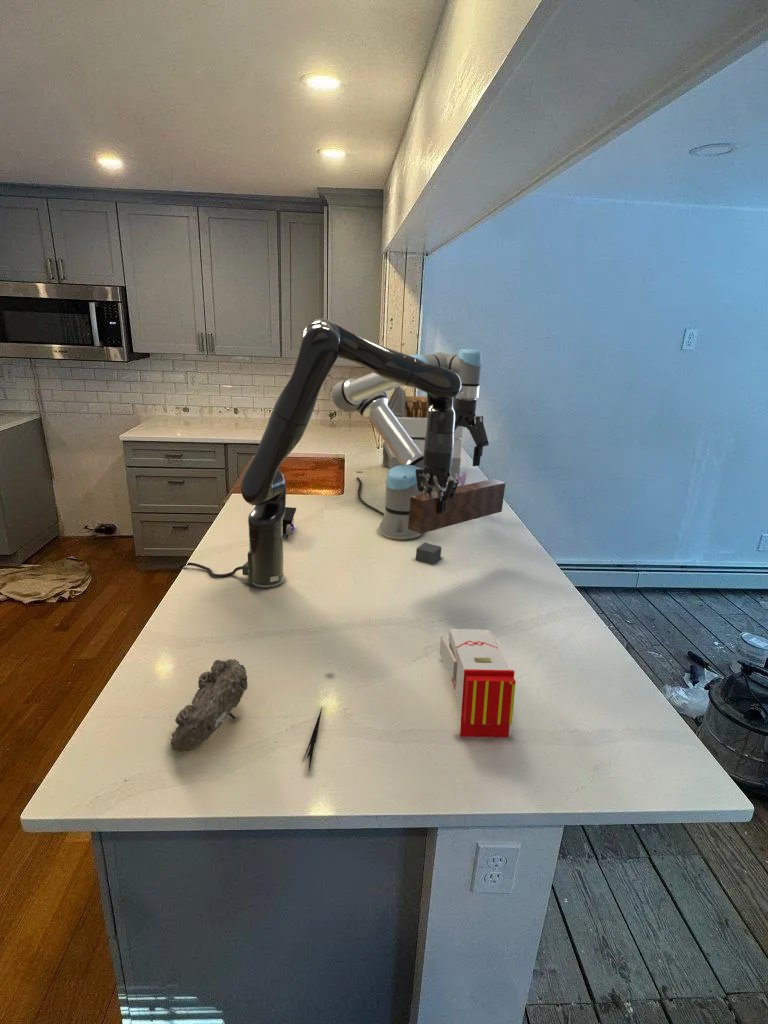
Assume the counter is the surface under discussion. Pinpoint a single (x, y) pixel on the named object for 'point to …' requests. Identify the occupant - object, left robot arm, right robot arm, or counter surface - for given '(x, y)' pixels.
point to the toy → (479, 682)
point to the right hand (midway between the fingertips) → (460, 461)
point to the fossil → (210, 704)
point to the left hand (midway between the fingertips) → (433, 510)
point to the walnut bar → (456, 506)
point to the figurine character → (288, 521)
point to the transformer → (417, 427)
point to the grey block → (428, 553)
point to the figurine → (461, 479)
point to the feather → (313, 740)
